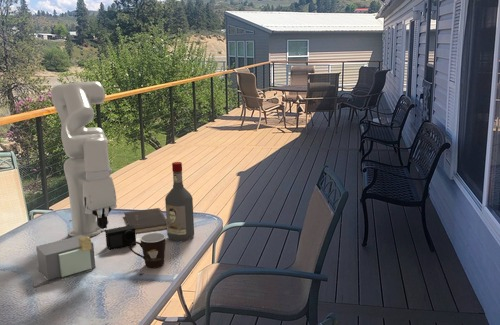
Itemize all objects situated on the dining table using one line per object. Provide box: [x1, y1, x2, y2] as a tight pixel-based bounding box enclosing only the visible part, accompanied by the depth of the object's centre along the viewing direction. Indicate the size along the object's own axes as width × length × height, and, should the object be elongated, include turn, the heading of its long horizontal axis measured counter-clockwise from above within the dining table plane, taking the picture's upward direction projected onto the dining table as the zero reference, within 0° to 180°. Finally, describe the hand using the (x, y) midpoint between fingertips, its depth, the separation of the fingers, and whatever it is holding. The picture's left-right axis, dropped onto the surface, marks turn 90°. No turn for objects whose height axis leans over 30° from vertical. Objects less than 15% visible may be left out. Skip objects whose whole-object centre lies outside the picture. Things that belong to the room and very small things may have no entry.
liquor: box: [164, 161, 195, 243], centre depth 205 cm, size 9×9×30 cm
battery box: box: [32, 235, 96, 288], centre depth 178 cm, size 21×12×9 cm, turn 128°
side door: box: [59, 236, 93, 277], centre depth 175 cm, size 10×3×12 cm, turn 128°
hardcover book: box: [123, 207, 167, 234], centre depth 226 cm, size 16×23×2 cm
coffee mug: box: [129, 232, 167, 269], centre depth 183 cm, size 12×9×10 cm
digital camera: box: [104, 225, 137, 251], centre depth 199 cm, size 10×5×7 cm, turn 118°
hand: (102, 227), depth 179 cm, fingers closed
